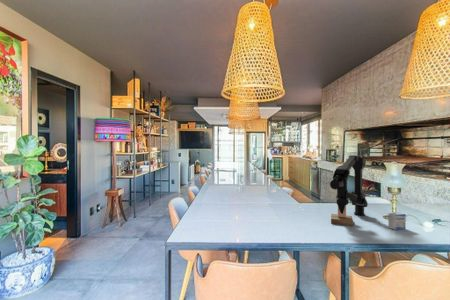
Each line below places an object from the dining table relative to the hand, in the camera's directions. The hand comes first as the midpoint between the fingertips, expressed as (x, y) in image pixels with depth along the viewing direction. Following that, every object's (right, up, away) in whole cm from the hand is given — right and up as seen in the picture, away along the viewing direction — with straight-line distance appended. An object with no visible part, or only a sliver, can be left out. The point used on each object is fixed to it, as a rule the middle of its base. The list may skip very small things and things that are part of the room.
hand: (341, 212), depth 152 cm
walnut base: (0, -6, 0) cm, 6 cm away
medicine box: (+27, -7, -11) cm, 30 cm away
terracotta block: (0, -2, 0) cm, 2 cm away
